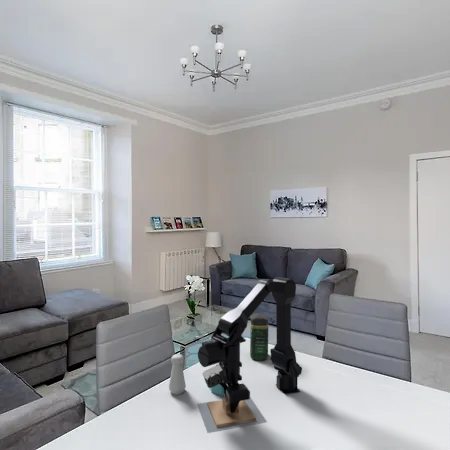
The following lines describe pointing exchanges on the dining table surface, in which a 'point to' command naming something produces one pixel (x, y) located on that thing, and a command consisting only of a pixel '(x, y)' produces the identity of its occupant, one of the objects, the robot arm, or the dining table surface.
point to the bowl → (217, 390)
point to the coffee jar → (259, 336)
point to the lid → (229, 413)
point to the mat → (212, 427)
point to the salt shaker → (177, 375)
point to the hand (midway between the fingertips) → (230, 408)
